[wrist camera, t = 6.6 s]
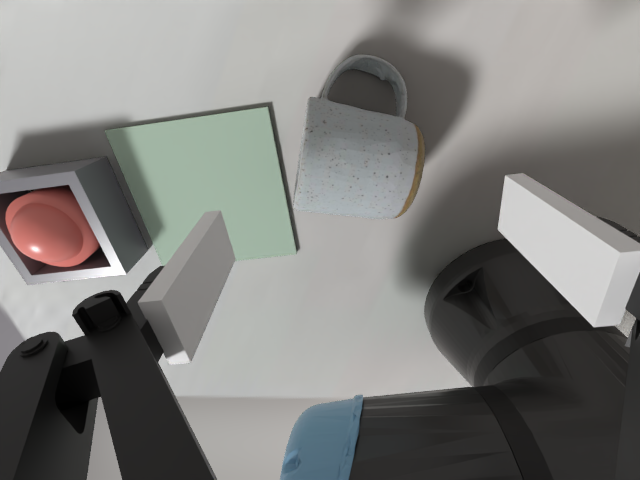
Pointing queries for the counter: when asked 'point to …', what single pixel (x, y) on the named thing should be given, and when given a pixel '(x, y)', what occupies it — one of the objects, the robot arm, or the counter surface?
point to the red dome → (51, 227)
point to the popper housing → (99, 209)
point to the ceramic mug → (359, 152)
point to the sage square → (208, 180)
